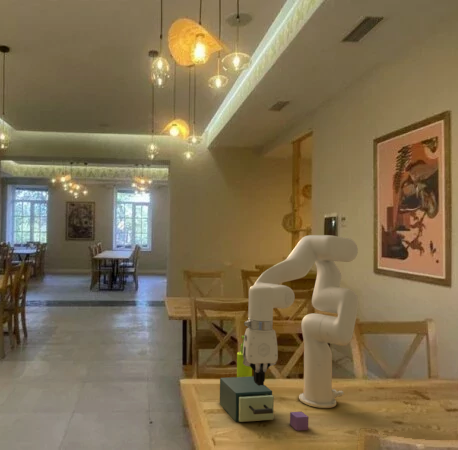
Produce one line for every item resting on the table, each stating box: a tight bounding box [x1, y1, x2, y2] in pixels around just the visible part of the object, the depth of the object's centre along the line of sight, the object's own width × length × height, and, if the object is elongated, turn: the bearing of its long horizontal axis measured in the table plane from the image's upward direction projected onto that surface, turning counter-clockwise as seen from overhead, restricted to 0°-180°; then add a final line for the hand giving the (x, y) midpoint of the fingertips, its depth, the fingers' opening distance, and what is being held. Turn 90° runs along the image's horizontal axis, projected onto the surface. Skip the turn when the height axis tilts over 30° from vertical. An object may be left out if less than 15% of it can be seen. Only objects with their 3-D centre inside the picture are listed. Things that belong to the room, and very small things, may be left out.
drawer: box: [238, 394, 275, 423], centre depth 135 cm, size 18×11×7 cm, turn 12°
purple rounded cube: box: [289, 411, 309, 432], centre depth 129 cm, size 4×4×4 cm
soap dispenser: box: [236, 335, 253, 377], centre depth 164 cm, size 6×7×20 cm
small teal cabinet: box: [219, 375, 273, 423], centre depth 140 cm, size 15×13×9 cm
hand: (259, 383), depth 130 cm, fingers closed
